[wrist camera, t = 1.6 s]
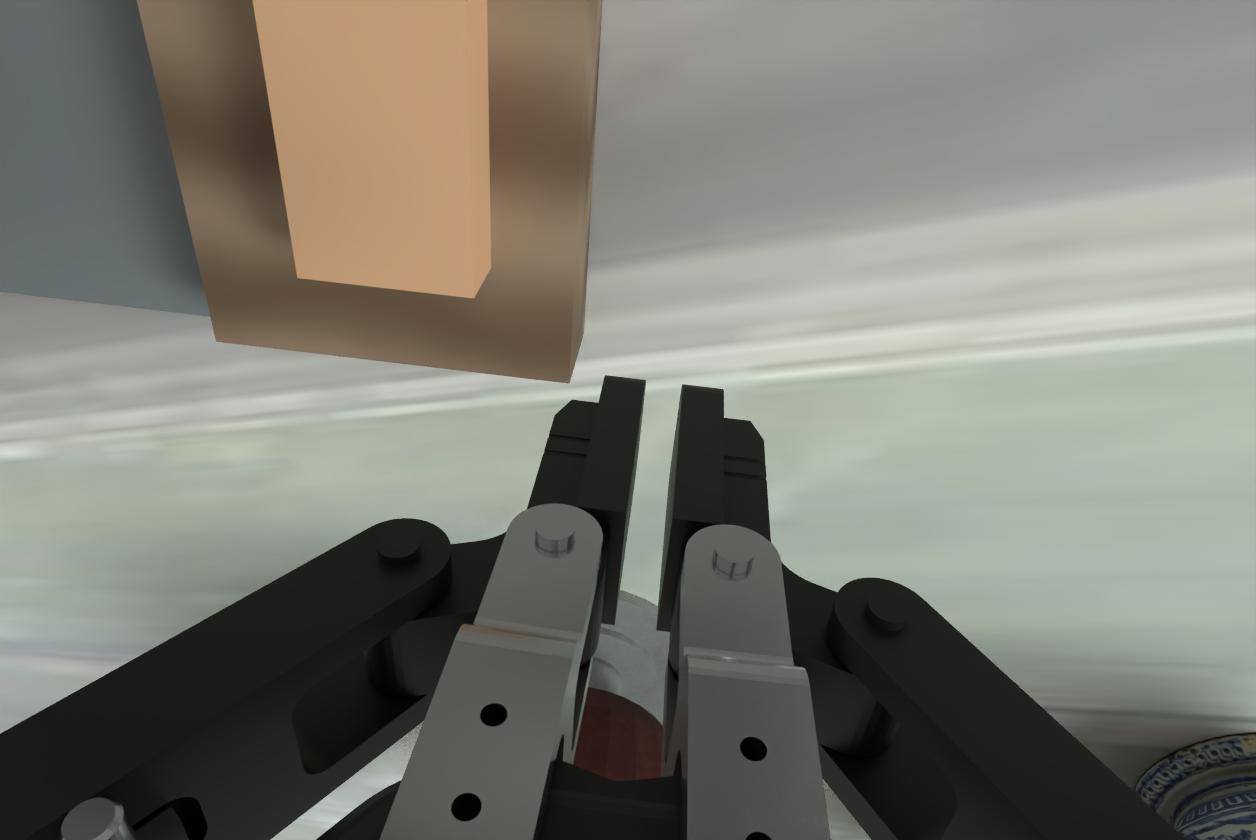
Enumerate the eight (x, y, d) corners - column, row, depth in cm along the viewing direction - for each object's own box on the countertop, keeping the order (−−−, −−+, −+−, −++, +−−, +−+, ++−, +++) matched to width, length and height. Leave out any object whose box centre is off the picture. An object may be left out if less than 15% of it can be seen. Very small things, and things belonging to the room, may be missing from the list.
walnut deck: (162, -230, 26) (80, -242, 22) (612, -187, 25) (596, -193, 22) (262, 296, 36) (216, 341, 33) (583, 333, 35) (569, 383, 32)
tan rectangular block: (288, -34, 25) (248, -24, 23) (486, -14, 25) (465, -1, 23) (326, 248, 30) (297, 277, 28) (491, 267, 30) (473, 298, 28)
